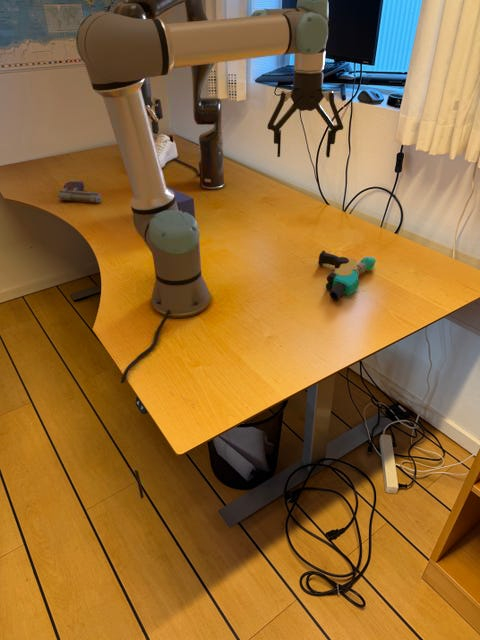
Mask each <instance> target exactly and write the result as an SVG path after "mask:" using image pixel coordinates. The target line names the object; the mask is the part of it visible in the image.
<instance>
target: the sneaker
mask: <svg viewBox="0 0 480 640" xmlns="http://www.w3.org/2000/svg"><path fill="white" fill-rule="evenodd" d="M154 142H155V145H156V149H157V153H158V157H159V161H160V164H161V168H164V167H165V166H166V164H167V163H168V162H170V161H172V160H174V158H175V159H177V157H178V156H179V155H178V149H177V144H176V140H175V136H174V135H173V134H164V133H161V134H158V135H157V137H156V139H154Z"/></svg>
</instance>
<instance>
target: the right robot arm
mask: <svg viewBox="0 0 480 640" xmlns="http://www.w3.org/2000/svg"><path fill="white" fill-rule="evenodd" d="M183 3H184V7H185V15H186V22H195V21H206V20H209V19H208V17H207V13H206V11H205V8H204V3H203V0H123V1H120V2H118V3H117V4H116V5H115V6H114V7H113V9H112V12H113V13H115V14H118V15H122V16H126V17H131V18H137V19H156V18H159V17H161V16H162V15H164V14H166V13H167V12H169V11H170V10H172V9H174V8H175V7H177V6H179V5H180V4H183ZM215 64H216V63H211V64H203V65H195V66H190V70H191V71H190V72H191V84H192V86H191V87H192V112H193V120H194V123H195V124H196V125H199V126H202V125H205V126H207V125H209V126H212V125H213V127H212V128H211V129H209V130H207V131H204V132H202V133H200V135H199V136H198V146H199V147H198V149H199V162H198V168H197V167H195V166H193V165H191V164H189V163H187V162H185V161H182V160H180V159H178V158H174V159H173V160H174V161H176V162H178V163H180V164H183V165H184V166H187V167H189V168H191V169H193V170H195V171H196V176H197V177H199V184H200V185H199V186H201V188H202V189H205V190H210V191H211V190H212V191H213V190H220V189H222V188H224V187H225V167H224V166H225V165H224V142H223V141H224V139H223V103H222V99H221V98H220V97H202V92H203V89H204V86H205V84H206V82H207V79H208V77H209V76H210V74H211V72H212V70H213V68H214V66H215ZM150 79H151V77H149V78H145V80H144V82H143V84H142V86H141V92H142V96H143V100H144V103H145V107H146V111H147V115H148V118H149V120H150V122H151V123H150V124H151V130H152V134H153V135H157V134H158V135H159V131H160V129H159V127H160V126H159V121H160V120H163V118H164V116H163V115H164V113H163V108H162V107H163V106H162V101H161V99H160V98H156V97H154V98H153V99H152V88H151V80H150ZM152 108H153V109H154V111H153V109H152Z"/></svg>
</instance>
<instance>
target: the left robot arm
mask: <svg viewBox="0 0 480 640" xmlns="http://www.w3.org/2000/svg"><path fill="white" fill-rule="evenodd" d="M329 12H330V11H329V0H297V2H296V5H295V7H293V8H264V9H257V10H254V11H253V12H252V13H251V15H250V16H242V17H232V18H220V19H208V20H206V21H195V22H187V21H185V22H174V23H165V22H164V21H163V20H162V19H161V18H159V17H157V18H156V19H137V18H131V17H126V16H122V15H118V14H115V13H113V11H109V10H105V9H104V10H96V11H94V12H91V13H89V14H88V15H86V16H85V17H84V18H83V19H81V20H80V23H79V24H78V26H77V29H76V32H75V46H76V51H77V54H78V56H79V57H80V59H81V61H82V62H83V63H84V65H85V68H86V72H87V75H88V78H89V81H90V84H91V87H92V91H93V92H95V93H96V94H98V95H100V96H101V98H102V99H103V102H104V105H105V108H106V112H107V115H108V119H109V121H110V125H111V127H112V132H113V134H114V138H115V141H116V143H117V147H118V150H119V154H120V156H121V161H122V163H123V166H124V169H125V173H126V176H127V179H128V182H129V186H130V188H131V191H132V195H133V196H132V198H131V199H130V201H129V205H130V209H131V213H132V220H133V226H134V229H135V231H136V233H138V235H139V236H140V237H141V239H142V240H143V242H144V243H145V245H146V246H147V248H148V249H149V251H150V253H151V256H152V260H153V261H152V262H153V268H154V274H155V275H154V276H155V281H154V284H153V290H152V294H151V305H152V308H153V310H154V311H155V312H156V313H157V314H159V315H160V316H163V317H162V320H161V321H160V323H159V325H158V327H157V329H156V331H155V333H154V337H153V341H152V343H151V345H149V347H148V348H146V349H145V350H144V351H143V352H141V353H140V354H138V356H136V357H135V359H133V360H132V361H131V362H130V363H129V364H128V365H127V366H126V368H125V369H124V371H123V373H122V376H121V379H120V383H121V384H124V383H125V382H126V379H127V376H128V373H129V371H130V370H131V369H132V368H133V367H134V365H136V364H137V363H138V362H139V361H140V360H141V359H142V358H143V357H145V356H146V355H147V354H149V353H150V352H151V351H152V350H154V348H155V347H156V345H157V343H158V339H159V334H160V332H161V330H162V328H163V326H164V324H165V323H166V321H167V319H168V318H171V319H183V318H185V319H186V318H190V317H194V316H196V315H199V314H201V313H202V312H204V311H205V310H207V308H208V307H209V306H210V303H211V294H210V290H209V288H208V286H207V284H206V281H205V278H204V277H203V275H202V262H201V261H202V259H201V247H200V246H201V243H200V235H201V234H200V229H199V226H198V221H197V219H196V217H195V218H194V217H193V216H192V215H190V214H188V213H186V212H184V213H182V211H179V210H178V206H177V202H176V198H175V195H174V192H173V191H172V190H171V189H169V188H167V187H166V186H167V184H166V180H165V176H164V172H163V169H162V168H163V167H162V168H161V164H160V161H159V157H158V153H157V149H156V145H155V138H154V133H153V131H152V125H151V123H150V118H149V116H148V115H147V111H146V107H145V103H144V100H143V96H142V92H141V86H142V84H143V82H144V80H145V78H154V77H160V76H162V77H163V76H168V75H169V73H171V70H173V69H179V68H186V67H191V66H195V65H203V64H211V63H215V64H218V63H226V62H236V61H242V60H251V59H258V58H267V57H274V56H275V57H276V56H282V55H283V56H285V55H294V57H293V59H294V60H293V69H294V70H295V71H294V72H293V81H292V91H291V92H288V91H285V90H281V92H280V97H279V101H278V103H277V105H276V107H275V109H274V111H273V113H272V115H271V116H270V118H269V121H268V123H267V126H266V127H267V130H268V131H269V130H270V131H272V132H273V144H274V145H277V156H276V157H277V158H280V157H281V145H282V144H281V141H282V129H281V128H282V127H283V126H284V125H285V124H286V122H287V121H288V120H289V119H290V118H291V116H292V115H293V114H294V113H296V111H297V110H298V111H300V112H304V111H308V112H313V111H314V110H316V112H317V113H318V114H319V115H320V117H321V118H322V120H323V121H324V123H325V124H326V125H327V127H328V129H329V130H327V138H326V139H327V140H326V149H325V150H326V151H325V156H326V158H330V156H331V145H335V143H336V136H337V132H339V131H343V130H344V125H343V122H342V119H341V116H340V114H339V110H338V109H337V105H336V103H335V93H334V91H333V90H330V91H326V92H324V91H323V83H324V72H323V70H324V69H325V61H326V48H327V47H326V46H327V41H328V39H329V25H328V24H329V20H330V19H329ZM289 99H291V100H292V102H293V103H292V104H291V106H290V107H289V108H288V109H287V111H286V112H285V113H284V114H283V115H282V116H281V118H280V119H279V120H278V121H277V122H276V120H277V119H278V116H279V115H280V113H281V111H282V109H283V107H284V105H285V102H288V100H289ZM323 99H325V101H326V102H328V104H329V106H330V108H331V111H332V113H333V116H334V119H335V122H336V125H335V124H334V123H333V120H332V119H331V118H330V117H329V115H328V114H327V113H326V111H325V110H324V108H323V107H322V105H321V104H320V103H321V102H322V100H323ZM275 122H276V123H275ZM133 472H134V474H135V479H136V483H137V487H138V491H139V496H140V499H144V497H145V495H144V491H143V486H142V482H141V477H140V473H139V470H136V469H135V470H134V471H133Z"/></svg>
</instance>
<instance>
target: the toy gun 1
mask: <svg viewBox="0 0 480 640" xmlns="http://www.w3.org/2000/svg"><path fill="white" fill-rule="evenodd" d="M84 189H85V184H84V181H82V180H70V181H68V182H65V183H64V185H63V189H60V190H59V193H58V195H57V196H56V197H57V198H58V199H59V200H61V201H71V202H85V203H97V204H98V203H99V204H101V200H102V198H103V197H102V194H101V193H99V192H94V191H89V192H88V191H84Z"/></svg>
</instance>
